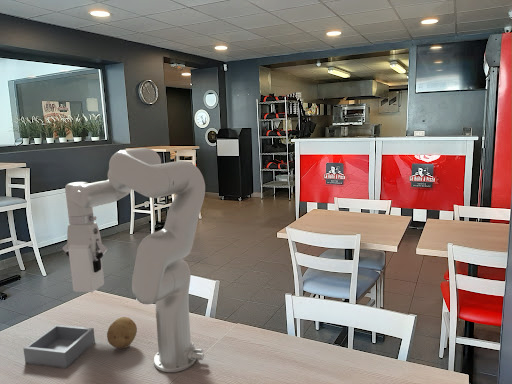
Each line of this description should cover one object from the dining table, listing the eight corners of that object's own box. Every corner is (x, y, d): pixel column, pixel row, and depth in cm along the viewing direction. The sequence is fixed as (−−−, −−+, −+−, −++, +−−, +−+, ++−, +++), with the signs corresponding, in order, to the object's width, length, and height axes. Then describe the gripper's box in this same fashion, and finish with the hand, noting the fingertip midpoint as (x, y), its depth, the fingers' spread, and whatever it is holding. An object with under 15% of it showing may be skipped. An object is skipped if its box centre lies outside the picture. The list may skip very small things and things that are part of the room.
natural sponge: (131, 356, 121) (129, 326, 119) (103, 356, 121) (100, 326, 120) (141, 340, 130) (139, 312, 128) (115, 340, 130) (112, 312, 129)
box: (95, 342, 129) (93, 328, 128) (66, 368, 116) (64, 352, 115) (57, 338, 132) (55, 324, 131) (25, 363, 119) (23, 348, 118)
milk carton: (92, 292, 131) (86, 237, 127) (73, 291, 132) (66, 236, 129) (104, 284, 137) (98, 231, 134) (86, 283, 139) (80, 231, 136)
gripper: (111, 217, 132) (116, 267, 135) (65, 216, 136) (71, 265, 139) (98, 222, 125) (104, 275, 128) (50, 221, 129) (57, 273, 132)
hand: (87, 270), depth 134 cm, fingers closed on milk carton, 7 cm apart
